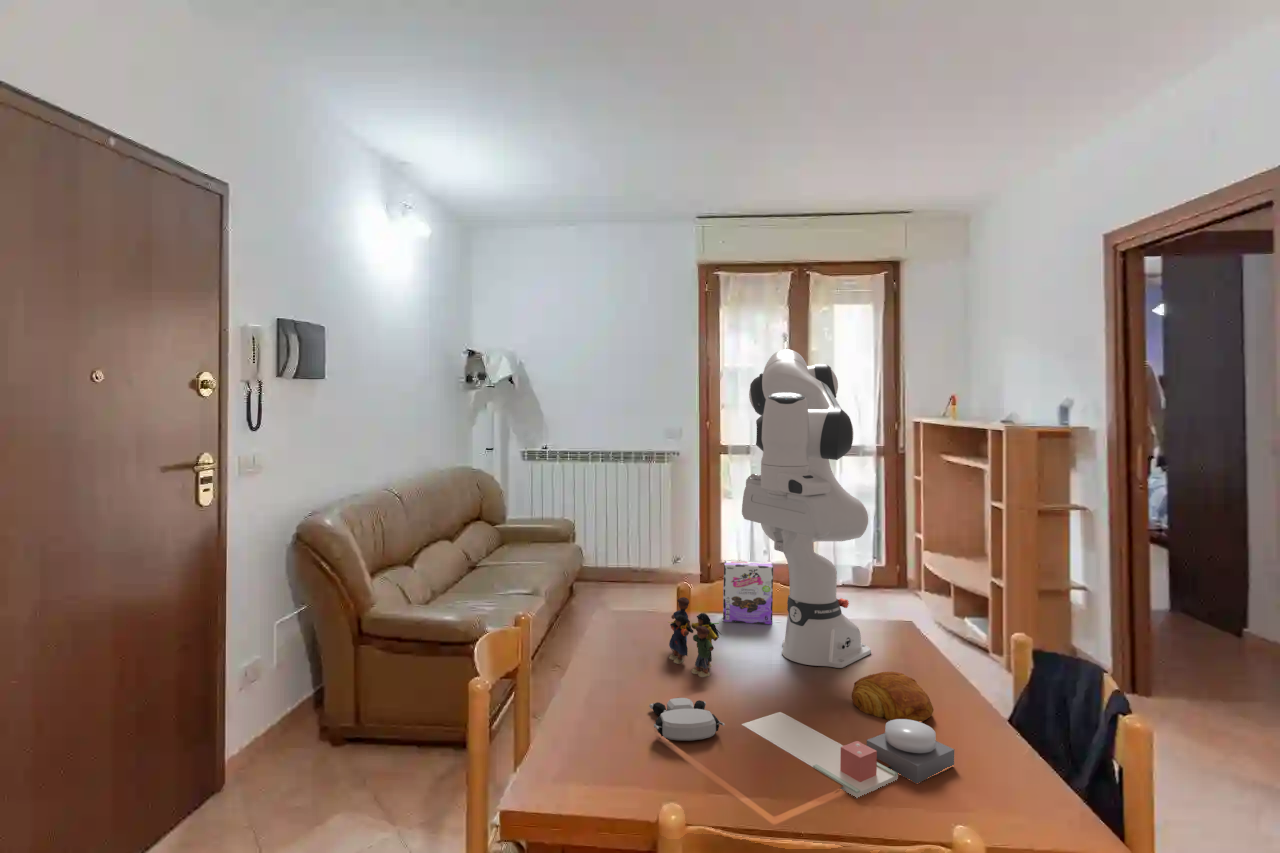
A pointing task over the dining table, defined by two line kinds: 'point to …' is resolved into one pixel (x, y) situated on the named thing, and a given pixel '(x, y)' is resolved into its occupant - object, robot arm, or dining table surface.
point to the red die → (858, 761)
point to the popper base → (912, 759)
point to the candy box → (748, 592)
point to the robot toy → (685, 720)
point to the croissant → (892, 697)
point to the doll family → (703, 638)
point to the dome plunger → (910, 736)
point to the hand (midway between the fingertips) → (782, 551)
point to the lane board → (816, 751)
